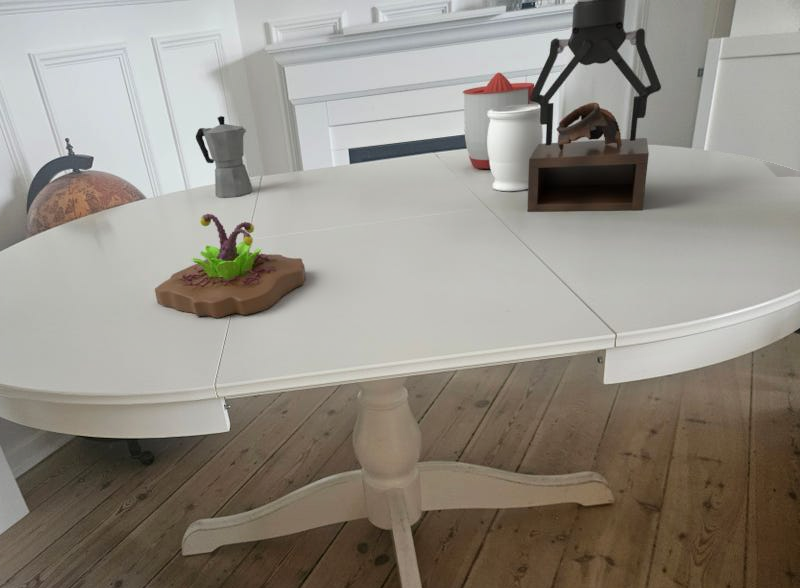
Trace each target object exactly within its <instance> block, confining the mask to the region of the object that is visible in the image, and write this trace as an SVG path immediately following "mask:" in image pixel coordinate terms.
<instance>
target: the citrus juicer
mask: <svg viewBox="0 0 800 588" xmlns="http://www.w3.org/2000/svg"><path fill="white" fill-rule="evenodd" d="M534 87H535V82H534V83H533V82H512V83H511V82H510V81H509V80H508V78H507V77H506V76H505V75H504V74H502V72H497V73H495V74H494V76H492V78H491V79H490V80H489V82H488V83H487V84H486V85H484V86H477V87H471V88H468V89H465V90H463V91H462V93H463V110H464V111H463V112H464V113H463V114H464V115H463V116H464V120H463V121H464V140H465V145H466V146H465V147H466V150H467V153H468V158H469V161H470V163H471V165H472V167H474V168H476V169H477V170H485V169H490V162H489V156H488V149H487V135H488V128H489V123H490V118H489V117H488V115H487V113H488V112H487V111H489V110H492V109H495V108H500V107H505V106H513V105H527V104H534V105H540V104H538V103H536V102H531V101H530V99H529V98H530V95H531V93H532V91H533V89H534Z"/></svg>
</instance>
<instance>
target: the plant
mask: <svg viewBox="0 0 800 588" xmlns="http://www.w3.org/2000/svg"><path fill="white" fill-rule="evenodd" d="M211 222H213V223H214V225H215V227H216V230H217V232H218V238H219V244H220V246H219V248H218V247H217V246H213V245H212V246H211V245H205V246H204V251H199V255H201V256H202V257H204V258H205V259H204V260H202V259H200V258H190V260H191V261H192V262H194V264H192V265H190V266H188V267H186V268H184V269H182V270H179V271H177V272H175V273H173V274H171V276H170V278H168V279H166V280H164V281H163V282H162V283H160V284H159V285H158V286H157V287H155V288H154V293H155V297H156V302H157V304H160V305H161V306H162V307H166V308H173V309H175V310H177V311H180V312H185V313H192V314H195V315H196V317H205V316H206V317H212V318H214V319H219V318H223V317H226V316H231V315H234V314H239V315H242V316H247V315H251V314H255V313H259V312H262V311H264V310H267V309H269V308H271V307H273V306H274V305H275V304H276V303H277V302H278V301H279V300H280V299H281V298H282V297H283V296H284V295H286V294H288V293H290V292H291V291H292V290H294V289H297V288H299V287H301V286H302V285H303V284H304V283H305V280H306V277H307V275H306V268H305V264H304V263H303V258H301V257H298V258H297V257H295V258H294V257H293V258H291V257H287V256H284V255H282V254H265V253H262V252H261V251H262V248H257V249H256V250H254V251H253V252H250V251H251V250H250V249H251V247H252V246H253V245H252V244H253V242H254V239H253V237H252V235H251V233H253V232H254V230H255V226H254V224H252V223H250V222H246V221H244V222H241V223H239V224H237V225H236V227H235V228H234V230H233V231H231V233H230V234H229V236H228V235H227V233H226V230H225V228H224V226H223V224H222V223H221V222H220V220H219V219H218V217H217V216H216V215H214V214H212V213H206V214H203V215H202V216H201V217H200V225H201V226H203V227H207V226H209V225H210V224H211ZM243 228H244V229H243ZM240 234H243V241H241V242H239V244H238V245H237V238H238V235H240Z"/></svg>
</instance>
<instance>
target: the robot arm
mask: <svg viewBox="0 0 800 588" xmlns="http://www.w3.org/2000/svg"><path fill="white" fill-rule="evenodd" d="M626 2H627V0H577V1H576V3H575V4H574V5H573V6H572V23H571V24H572V27H571V35H570V37H569V38H557V37H556V38H553V39H551V41H550V44H549V45H550V47H549V55H547V59H546V60H545V63H544V65H543V67H542V69H541V72H540V73H539V76H538V78H537V80H536V82H535V83H534V89H533V91H532V93H531V95H530V98H529V99H530V101H531V102H536V103H538V104H540V123H541V125H542V126H543V125H546V128H545V129H546V131H545V143H546V145H551V143H553V126H554V124H553V123H554V102H550V101H551V99H552V98H553V96H555V94H556V93H557V92H558V90H559V89H560V88H561V86H562V85H563V84H564V82H565V81H566V80H567V79H568V77H569V76H570V75H571V73H572V72H573V71H574V70H575V69H576V67H577V66H578V65H579V63H580V64H581V65H583V66H591V65H592V64H599V65H602V64H606V63H608V62H610V61H612V62H613V64H614V65H615V66H616V67H617V69H619V71H620V73H621V74H622V75H623V77H625V79H626V80H627V81H628V83H629V84H630V85H631V86H632V88H633V89H634V91H636V93H637V94H638V95H637V96H635V95H634V96H633V102H632V103H633V104H632V114H631V115H632V116H631V125H630V133H629V139H630V141H635V139H636V138H637V137H636V136H637V135H636V134H637V126H638V119H644V118H645V116H646V113H647V104H648V99H649V96H650V95H652V94H655V93H657V92H659V91H660V90H661V89H662V85H661V82H660V80H659V79H660V78H659V77H658V74H657V72H656V69H655V67H654V64H653V62H652V59H651V56H650V54H649V50H648V48H647V46H646V44H645V43H646V31H645V29H644V28H643V27H639V28H638V29H636V30H632V31H631V30H630V31H625V28H624V25H625V14H626V13H625V12H626ZM627 40H628V41H629V43H630V45H631V46H635V47H636V50H637V54H638V56H639V58H640V60H641V63H642V66H643V69H644V71H645V74H646V76H647V79H648V82H649V85H647V86H645V84H644V83H643V82H642V81H641V79H640V77H639V76H638V75H637V74H636V73H635V72H634V70H633V69H632V67H630V65H629V64H628V63H627V61H626V60H625V59H624V58H623V55H621V54H620V52H619V49H620V48H621V47H622V45H623V44H624V43H625V41H627ZM566 47H568V49H569V50H570V51H571V53H572V54H573V57H572V58H571V59H570V61H569V63H568V64H567V65H566V66H565V68H564V69H563V70H562V71H561V73H560V74H559V75H558V76H557V78H556V79H555V80H554V82H553V83H552V84H551V85H550V87H549V88H548V90H547V91H546V92H545V94H541V93H542V91H543V88H544V86H545V84H546V82H547V80H548V78H549V76H550V74H551V71H552V69H553V67H554V65H555V63H556V61H557V58H558V56H559V54H561V53H563V52H564V50H565V49H566Z"/></svg>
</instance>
